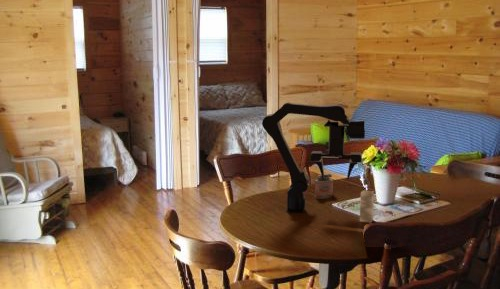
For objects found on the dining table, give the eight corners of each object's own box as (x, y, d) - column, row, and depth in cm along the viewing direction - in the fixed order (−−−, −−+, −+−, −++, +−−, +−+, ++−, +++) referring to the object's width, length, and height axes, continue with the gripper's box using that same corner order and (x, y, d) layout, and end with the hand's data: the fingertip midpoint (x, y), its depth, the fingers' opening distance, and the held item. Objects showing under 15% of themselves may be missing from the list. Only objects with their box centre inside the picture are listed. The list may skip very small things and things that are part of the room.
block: (359, 222, 190) (360, 193, 188) (361, 219, 194) (362, 190, 192) (370, 224, 189) (372, 194, 187) (372, 220, 192) (374, 191, 191)
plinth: (363, 216, 199) (364, 213, 199) (366, 211, 205) (366, 209, 205) (380, 217, 197) (380, 215, 197) (382, 213, 203) (382, 210, 203)
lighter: (316, 199, 222) (316, 175, 220) (313, 196, 225) (313, 173, 224) (334, 197, 224) (334, 174, 223) (330, 195, 228) (331, 172, 226)
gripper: (361, 135, 206) (360, 175, 208) (312, 134, 209) (312, 173, 212) (362, 140, 195) (360, 181, 198) (311, 139, 198) (310, 179, 201)
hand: (335, 178), depth 202 cm, fingers open, 9 cm apart
